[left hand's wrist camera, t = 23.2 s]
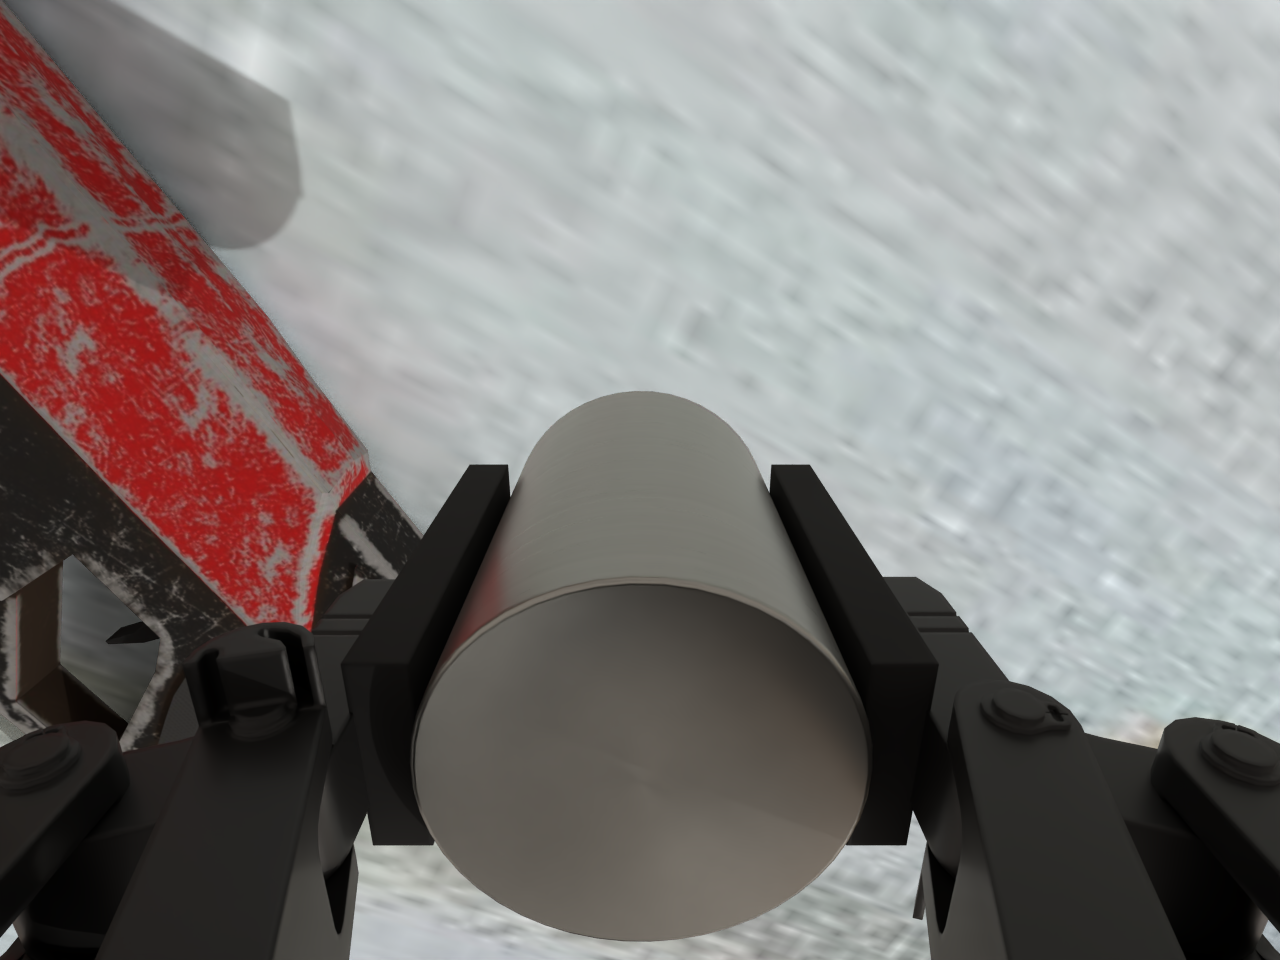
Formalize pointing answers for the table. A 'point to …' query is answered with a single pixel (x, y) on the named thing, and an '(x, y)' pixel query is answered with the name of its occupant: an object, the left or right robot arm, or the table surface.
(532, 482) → the can
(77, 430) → the gun
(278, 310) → the table surface
